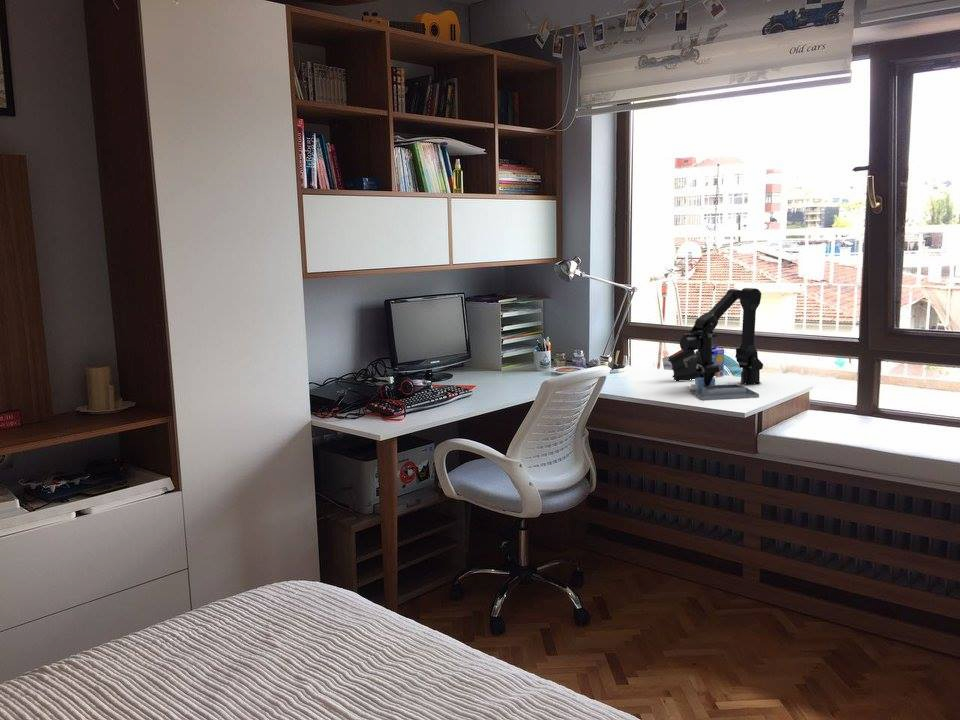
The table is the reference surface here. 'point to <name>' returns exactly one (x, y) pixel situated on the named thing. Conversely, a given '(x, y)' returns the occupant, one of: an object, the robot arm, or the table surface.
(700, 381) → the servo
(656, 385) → the table surface
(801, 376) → the table surface
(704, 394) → the chassis
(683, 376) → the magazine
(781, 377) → the table surface
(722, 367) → the ink cartridge box
